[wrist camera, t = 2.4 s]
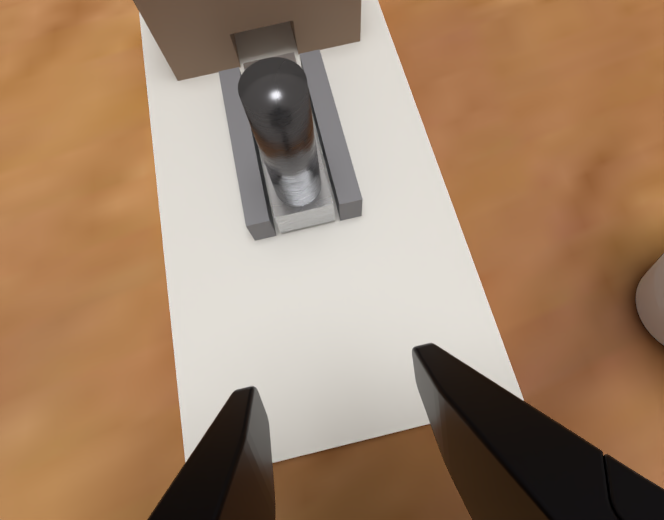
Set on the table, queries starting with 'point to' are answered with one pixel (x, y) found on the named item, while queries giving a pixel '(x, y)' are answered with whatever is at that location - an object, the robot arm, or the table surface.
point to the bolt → (286, 141)
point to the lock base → (310, 242)
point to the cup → (652, 300)
